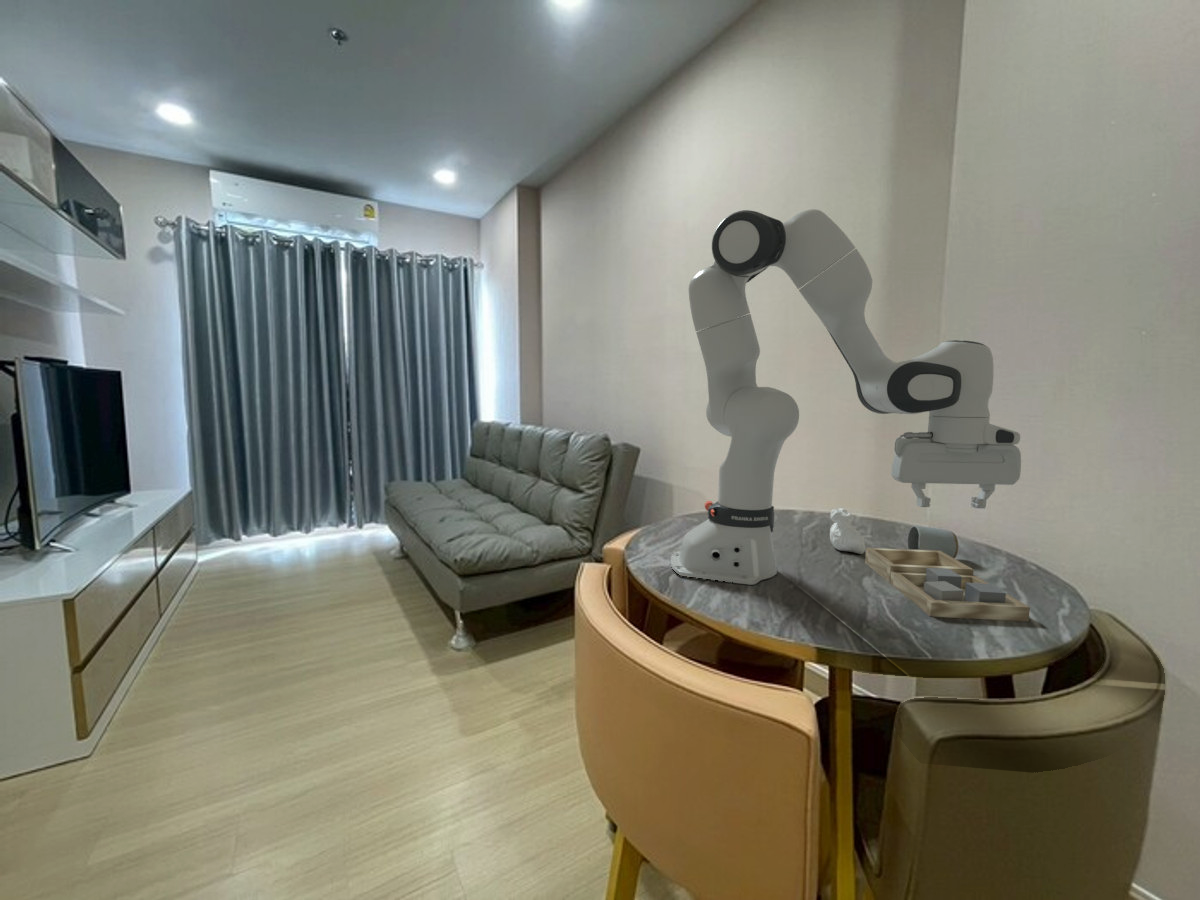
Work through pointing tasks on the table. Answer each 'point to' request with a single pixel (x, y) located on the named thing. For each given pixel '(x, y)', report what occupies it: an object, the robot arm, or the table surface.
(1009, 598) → the tray
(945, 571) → the stone mid
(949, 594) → the block
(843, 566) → the table surface
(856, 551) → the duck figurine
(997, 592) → the stone right
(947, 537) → the ceramic mug
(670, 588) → the table surface
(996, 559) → the table surface
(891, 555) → the tray
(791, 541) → the table surface
